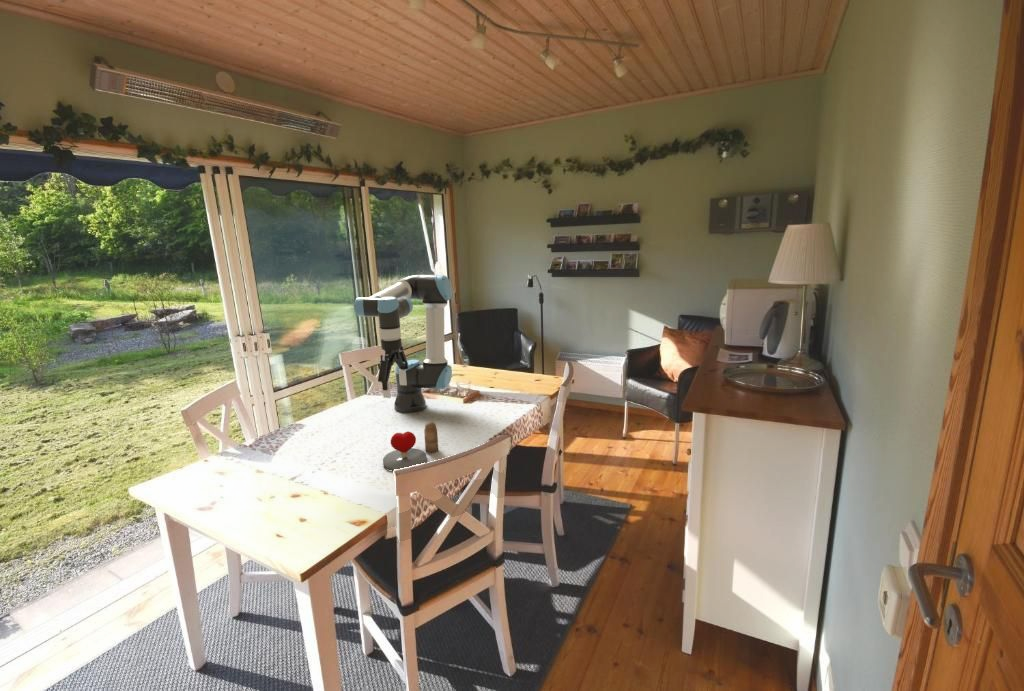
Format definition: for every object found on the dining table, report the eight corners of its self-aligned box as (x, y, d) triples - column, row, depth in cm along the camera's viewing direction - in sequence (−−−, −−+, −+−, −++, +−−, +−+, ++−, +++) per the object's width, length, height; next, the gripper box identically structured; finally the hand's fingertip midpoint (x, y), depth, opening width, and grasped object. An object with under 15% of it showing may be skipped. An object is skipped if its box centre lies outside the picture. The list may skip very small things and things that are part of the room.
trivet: (396, 449, 189) (395, 446, 189) (433, 454, 185) (433, 450, 185) (374, 469, 174) (374, 465, 174) (414, 474, 170) (414, 470, 170)
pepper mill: (428, 447, 191) (427, 419, 188) (440, 448, 190) (438, 420, 187) (423, 452, 187) (421, 424, 184) (435, 454, 185) (433, 425, 183)
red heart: (392, 463, 175) (390, 438, 172) (391, 455, 181) (389, 430, 179) (417, 460, 177) (416, 435, 175) (416, 451, 184) (414, 427, 181)
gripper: (397, 330, 192) (401, 379, 198) (364, 346, 169) (370, 402, 174) (414, 330, 190) (417, 380, 196) (383, 347, 167) (389, 403, 173)
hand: (395, 391), depth 185 cm, fingers open, 13 cm apart
